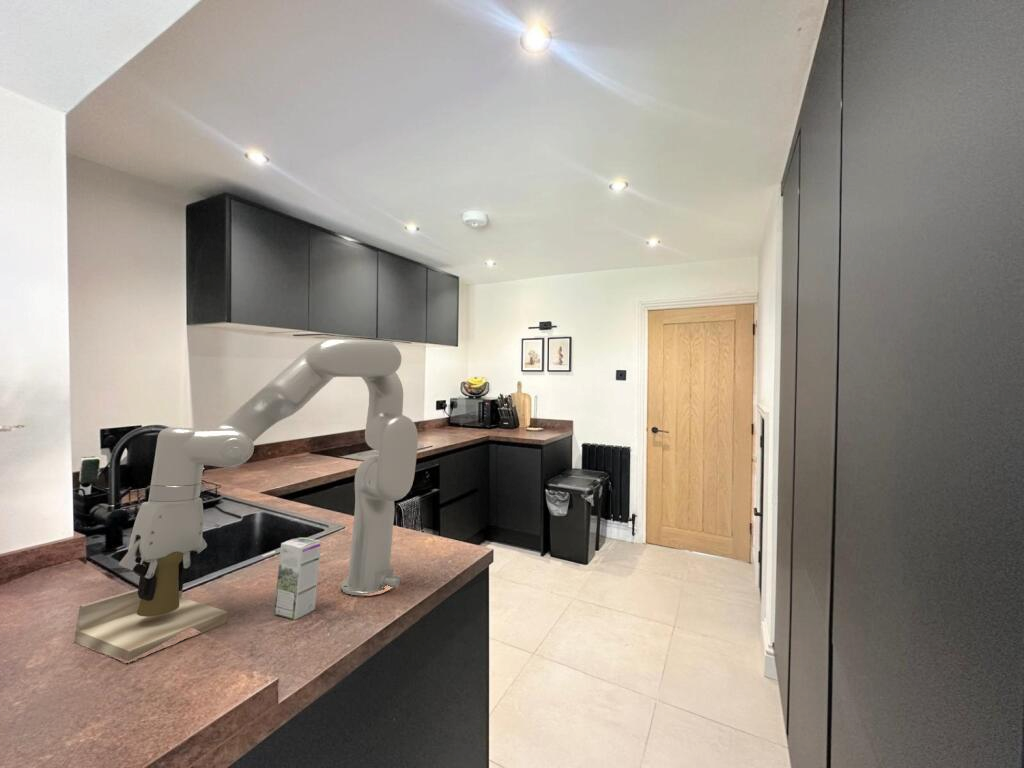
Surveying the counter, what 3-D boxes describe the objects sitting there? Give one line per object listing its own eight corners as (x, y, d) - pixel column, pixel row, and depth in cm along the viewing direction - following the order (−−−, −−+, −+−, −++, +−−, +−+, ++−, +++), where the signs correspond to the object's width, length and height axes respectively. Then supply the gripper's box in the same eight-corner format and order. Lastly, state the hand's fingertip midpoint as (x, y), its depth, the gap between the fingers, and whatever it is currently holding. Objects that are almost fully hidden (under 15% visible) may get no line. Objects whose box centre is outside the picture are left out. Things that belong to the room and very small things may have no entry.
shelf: (226, 622, 81) (230, 590, 81) (127, 664, 66) (133, 624, 66) (176, 606, 86) (180, 576, 86) (74, 642, 71) (79, 605, 72)
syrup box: (316, 609, 88) (323, 539, 90) (293, 621, 83) (301, 546, 84) (295, 604, 90) (302, 535, 91) (271, 615, 84) (280, 542, 86)
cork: (154, 618, 73) (163, 553, 74) (127, 613, 74) (137, 549, 75) (187, 604, 78) (195, 545, 80) (162, 600, 80) (170, 541, 81)
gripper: (207, 486, 87) (195, 576, 86) (108, 496, 72) (90, 607, 70) (232, 490, 85) (220, 583, 83) (134, 502, 69) (117, 617, 67)
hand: (161, 593), depth 76 cm, fingers closed on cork, 4 cm apart
